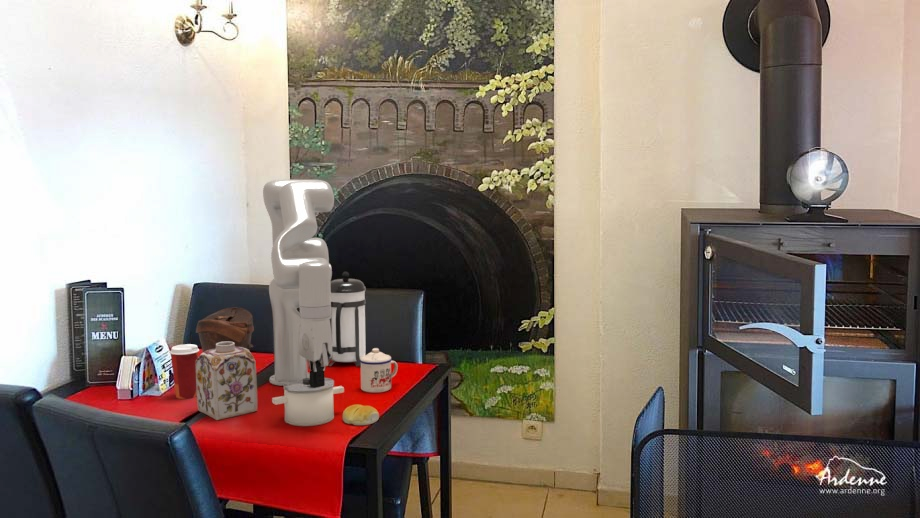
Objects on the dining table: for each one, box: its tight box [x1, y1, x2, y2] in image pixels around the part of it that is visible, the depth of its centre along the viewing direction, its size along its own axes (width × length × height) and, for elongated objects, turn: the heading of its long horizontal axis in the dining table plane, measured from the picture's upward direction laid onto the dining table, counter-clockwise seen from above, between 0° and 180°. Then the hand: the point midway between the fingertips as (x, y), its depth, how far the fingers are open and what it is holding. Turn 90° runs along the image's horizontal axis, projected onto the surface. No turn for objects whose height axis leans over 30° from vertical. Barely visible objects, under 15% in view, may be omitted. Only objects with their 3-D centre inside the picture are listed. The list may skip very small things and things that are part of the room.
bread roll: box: [342, 403, 380, 426], centre depth 188 cm, size 8×9×4 cm
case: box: [195, 306, 255, 353], centre depth 242 cm, size 18×20×18 cm
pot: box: [271, 385, 345, 427], centre depth 190 cm, size 12×18×8 cm, turn 125°
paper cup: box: [169, 343, 200, 400], centre depth 209 cm, size 8×8×14 cm
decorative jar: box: [195, 341, 258, 421], centre depth 195 cm, size 12×12×18 cm
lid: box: [283, 377, 335, 392], centre depth 189 cm, size 12×12×2 cm
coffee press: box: [327, 271, 367, 368], centre depth 244 cm, size 17×16×30 cm
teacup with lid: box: [360, 347, 399, 394], centre depth 217 cm, size 12×9×12 cm
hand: (317, 386), depth 185 cm, fingers closed
